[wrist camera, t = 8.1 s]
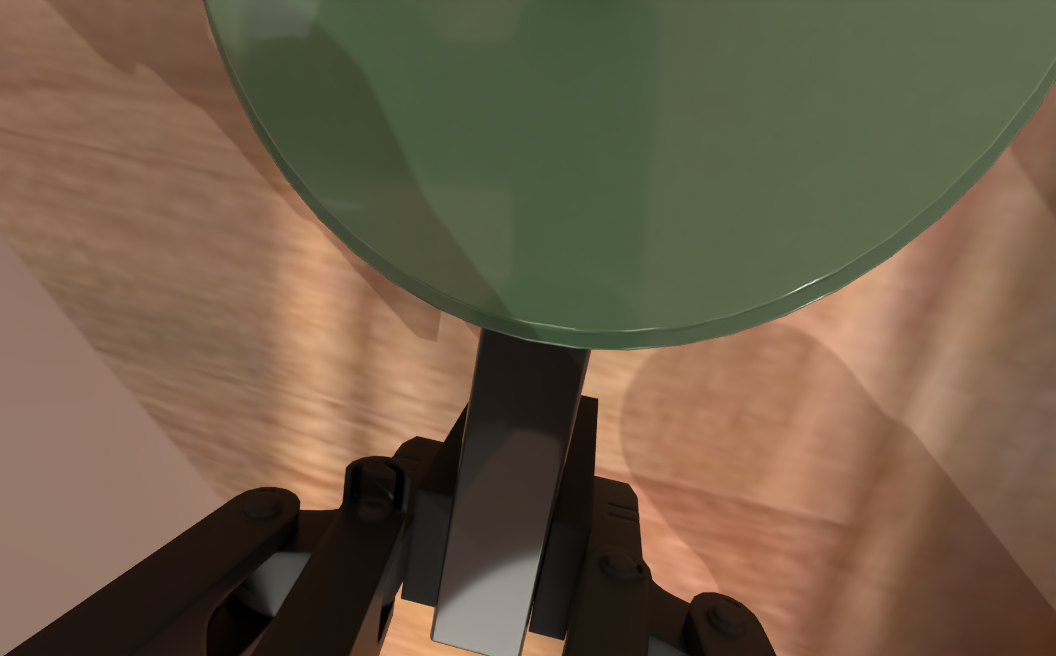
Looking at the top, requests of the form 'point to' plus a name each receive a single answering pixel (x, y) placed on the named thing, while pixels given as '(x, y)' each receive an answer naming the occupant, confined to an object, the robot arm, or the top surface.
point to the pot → (616, 188)
